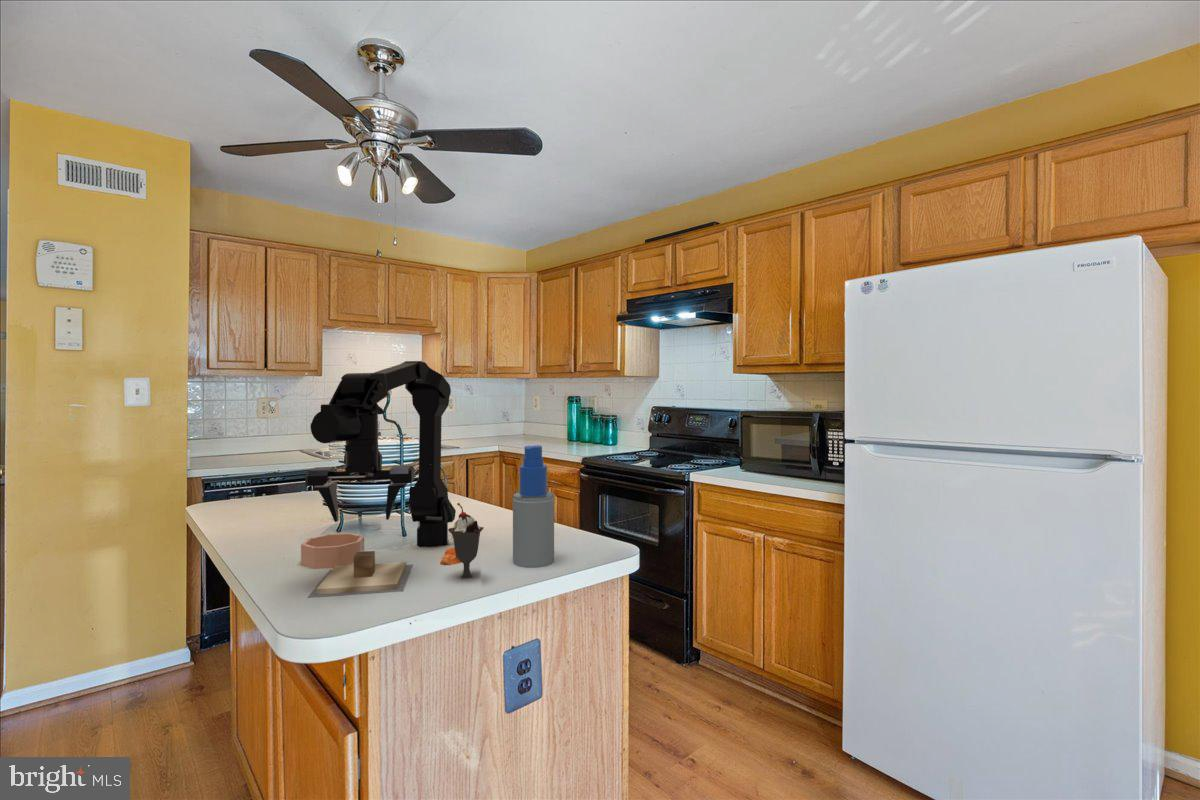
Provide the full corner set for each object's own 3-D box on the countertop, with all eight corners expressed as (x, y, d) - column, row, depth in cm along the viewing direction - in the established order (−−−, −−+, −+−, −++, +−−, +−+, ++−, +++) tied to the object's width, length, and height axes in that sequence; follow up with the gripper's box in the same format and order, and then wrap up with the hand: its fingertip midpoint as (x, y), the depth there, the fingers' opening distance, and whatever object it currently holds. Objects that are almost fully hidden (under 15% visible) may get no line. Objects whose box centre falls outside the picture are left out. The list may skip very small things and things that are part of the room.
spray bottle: (535, 552, 131) (535, 443, 130) (562, 560, 125) (562, 445, 124) (504, 561, 124) (504, 446, 124) (531, 570, 118) (530, 448, 118)
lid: (406, 566, 118) (406, 542, 118) (396, 589, 105) (396, 562, 105) (335, 570, 115) (334, 546, 115) (316, 594, 102) (316, 566, 102)
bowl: (367, 554, 130) (367, 532, 130) (356, 570, 118) (356, 545, 118) (311, 557, 127) (311, 534, 127) (295, 573, 116) (295, 549, 116)
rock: (415, 576, 117) (415, 555, 117) (434, 558, 129) (434, 539, 129) (474, 576, 117) (474, 555, 116) (487, 558, 129) (487, 539, 129)
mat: (413, 568, 119) (413, 564, 119) (403, 595, 104) (403, 591, 104) (330, 573, 116) (330, 569, 116) (307, 602, 100) (307, 597, 100)
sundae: (451, 575, 115) (451, 500, 115) (485, 574, 115) (485, 500, 115) (445, 586, 108) (445, 507, 108) (481, 585, 109) (481, 506, 109)
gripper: (417, 435, 119) (418, 510, 120) (321, 436, 116) (321, 513, 116) (411, 439, 108) (411, 521, 109) (304, 441, 105) (304, 526, 105)
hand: (362, 520), depth 110 cm, fingers open, 9 cm apart
